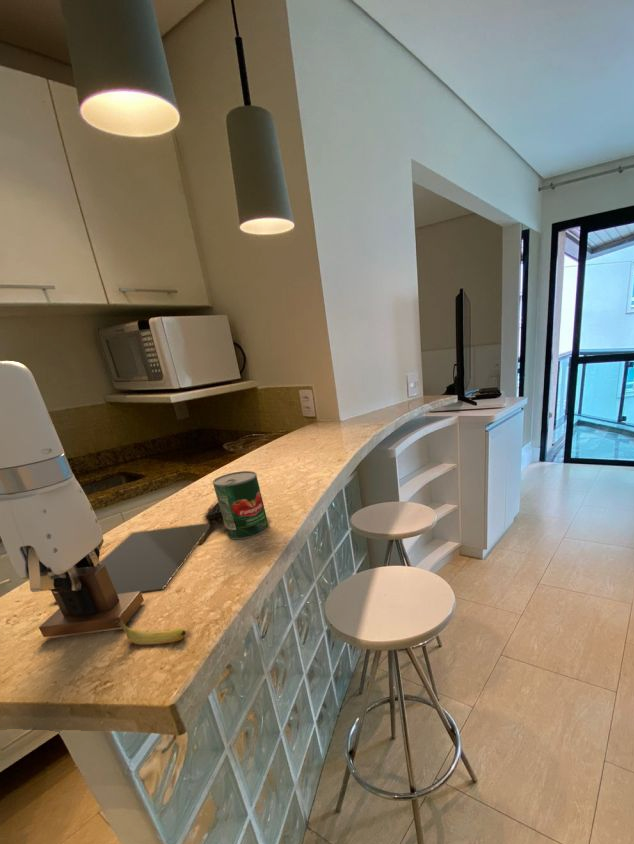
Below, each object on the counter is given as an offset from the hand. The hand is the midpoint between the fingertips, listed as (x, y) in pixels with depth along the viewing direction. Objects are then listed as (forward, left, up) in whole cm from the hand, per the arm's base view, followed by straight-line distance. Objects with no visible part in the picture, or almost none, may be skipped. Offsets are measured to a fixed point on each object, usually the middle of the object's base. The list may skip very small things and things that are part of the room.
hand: (91, 605), depth 54 cm
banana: (+10, -6, -3) cm, 12 cm away
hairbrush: (+6, +42, -3) cm, 43 cm away
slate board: (-2, +18, -3) cm, 18 cm away
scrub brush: (0, 0, -3) cm, 3 cm away
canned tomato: (+14, +26, -3) cm, 30 cm away
